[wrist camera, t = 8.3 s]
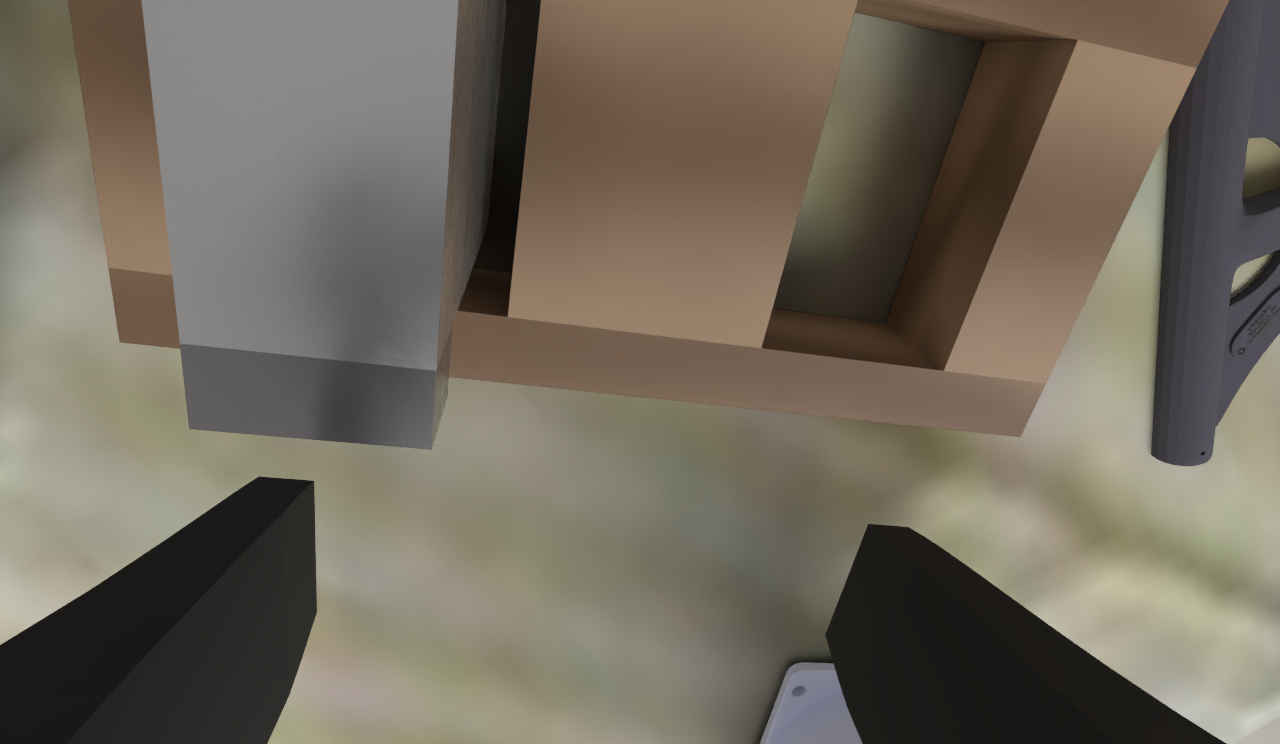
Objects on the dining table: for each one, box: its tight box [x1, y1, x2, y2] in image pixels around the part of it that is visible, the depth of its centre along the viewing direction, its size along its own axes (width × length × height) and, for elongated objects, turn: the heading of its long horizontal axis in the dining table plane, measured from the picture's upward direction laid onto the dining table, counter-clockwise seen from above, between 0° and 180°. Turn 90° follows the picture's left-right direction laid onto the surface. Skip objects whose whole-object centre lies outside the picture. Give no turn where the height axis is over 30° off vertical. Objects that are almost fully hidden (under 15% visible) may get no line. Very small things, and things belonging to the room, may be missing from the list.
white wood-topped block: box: [141, 0, 507, 449], centre depth 11 cm, size 6×3×8 cm, turn 169°
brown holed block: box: [68, 0, 1229, 437], centre depth 12 cm, size 12×20×6 cm, turn 79°
